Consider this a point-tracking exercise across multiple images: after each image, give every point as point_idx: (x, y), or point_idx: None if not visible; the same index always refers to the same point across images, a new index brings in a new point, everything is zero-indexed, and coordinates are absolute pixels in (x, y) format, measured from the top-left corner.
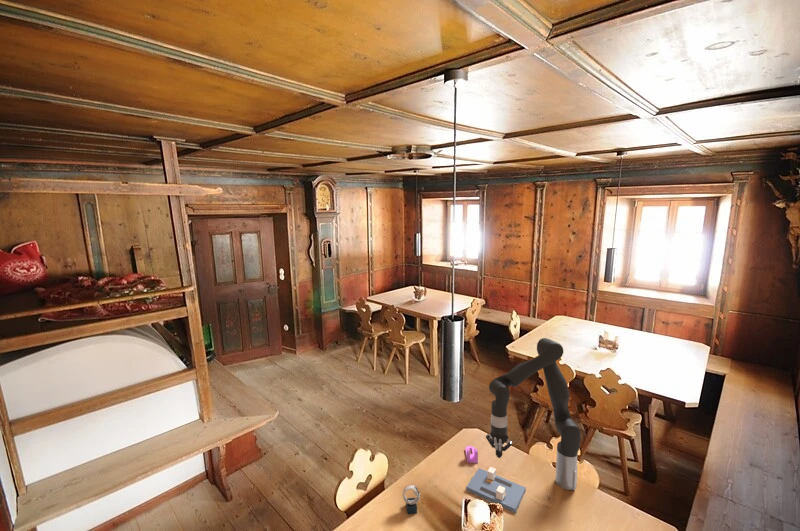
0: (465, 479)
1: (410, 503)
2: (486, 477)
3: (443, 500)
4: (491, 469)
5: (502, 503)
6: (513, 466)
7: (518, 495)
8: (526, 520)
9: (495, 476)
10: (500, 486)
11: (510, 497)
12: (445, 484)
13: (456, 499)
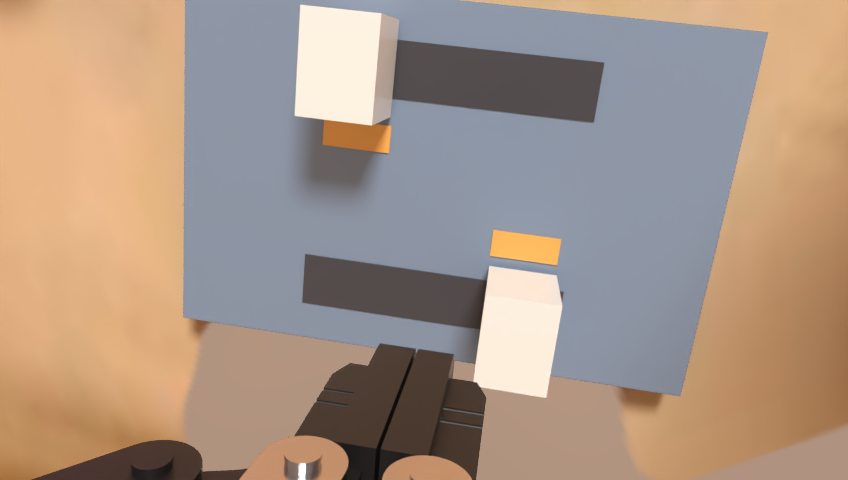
0: (138, 168)
1: None
2: None
3: None
4: (329, 56)
5: None
6: None
7: (691, 204)
8: (772, 411)
9: (397, 36)
10: (504, 308)
11: (611, 270)
12: (23, 312)
13: (175, 428)
